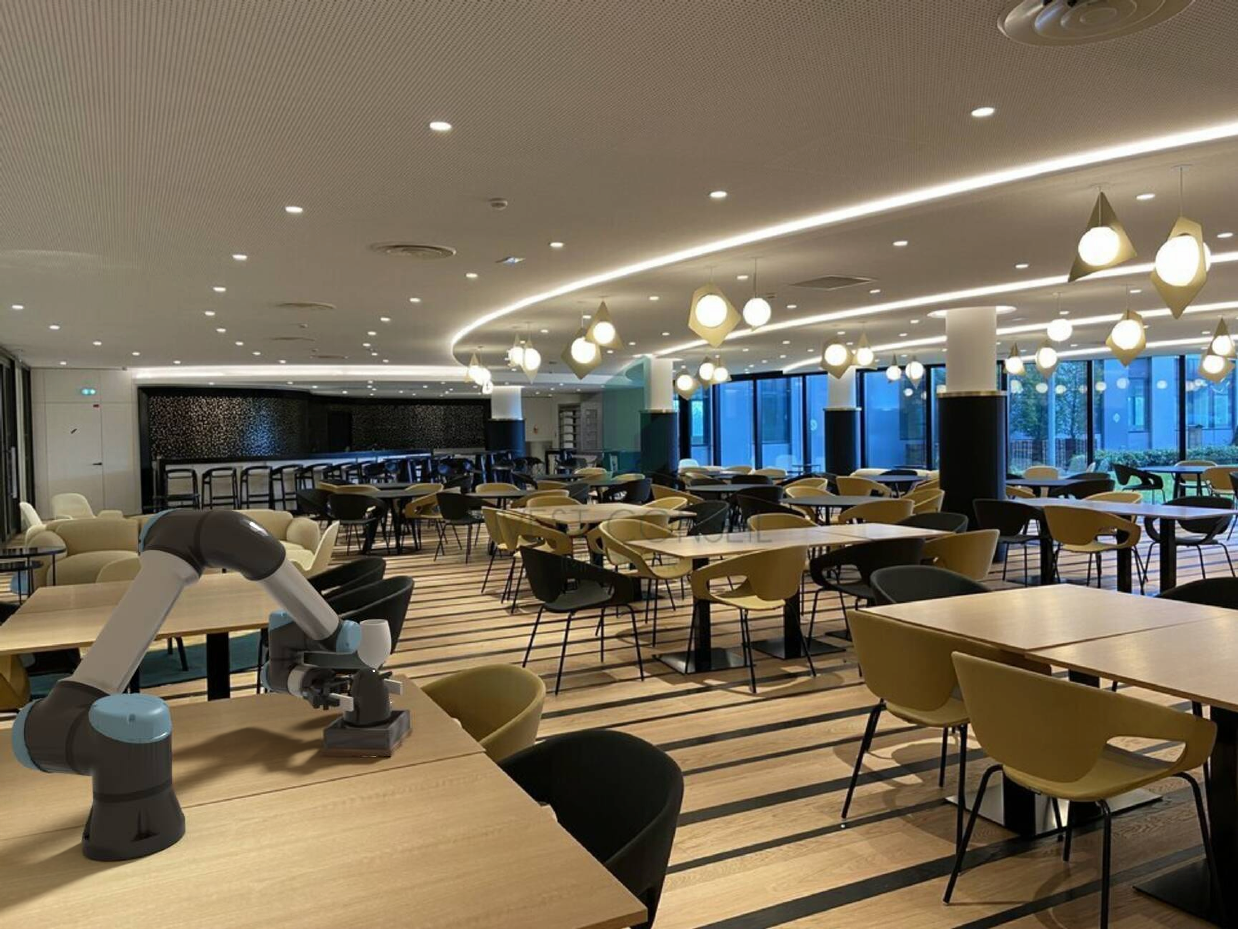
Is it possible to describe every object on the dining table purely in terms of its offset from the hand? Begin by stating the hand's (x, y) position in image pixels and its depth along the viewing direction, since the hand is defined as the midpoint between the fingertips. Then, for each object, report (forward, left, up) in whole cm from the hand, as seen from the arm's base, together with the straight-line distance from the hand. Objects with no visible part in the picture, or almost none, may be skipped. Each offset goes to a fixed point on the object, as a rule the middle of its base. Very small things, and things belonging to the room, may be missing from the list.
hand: (377, 696), depth 192 cm
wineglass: (+30, +11, -11) cm, 34 cm away
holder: (+2, +3, -11) cm, 11 cm away
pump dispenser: (+2, +3, -10) cm, 10 cm away
